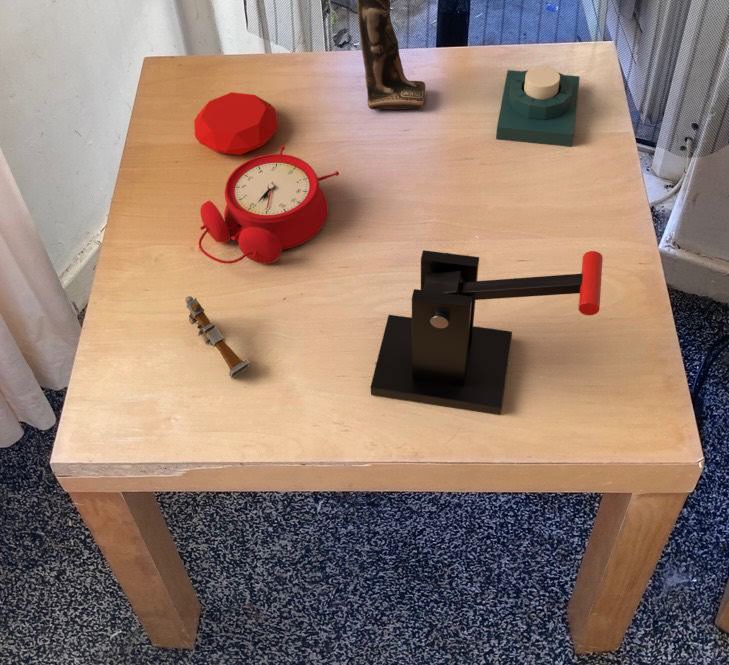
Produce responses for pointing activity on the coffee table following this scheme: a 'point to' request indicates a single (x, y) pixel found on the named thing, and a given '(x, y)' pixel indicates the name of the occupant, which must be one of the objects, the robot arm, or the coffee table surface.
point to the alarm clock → (268, 207)
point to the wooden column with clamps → (214, 337)
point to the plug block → (538, 112)
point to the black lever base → (443, 347)
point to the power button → (541, 82)
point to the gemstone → (235, 123)
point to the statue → (385, 60)
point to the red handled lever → (528, 285)
